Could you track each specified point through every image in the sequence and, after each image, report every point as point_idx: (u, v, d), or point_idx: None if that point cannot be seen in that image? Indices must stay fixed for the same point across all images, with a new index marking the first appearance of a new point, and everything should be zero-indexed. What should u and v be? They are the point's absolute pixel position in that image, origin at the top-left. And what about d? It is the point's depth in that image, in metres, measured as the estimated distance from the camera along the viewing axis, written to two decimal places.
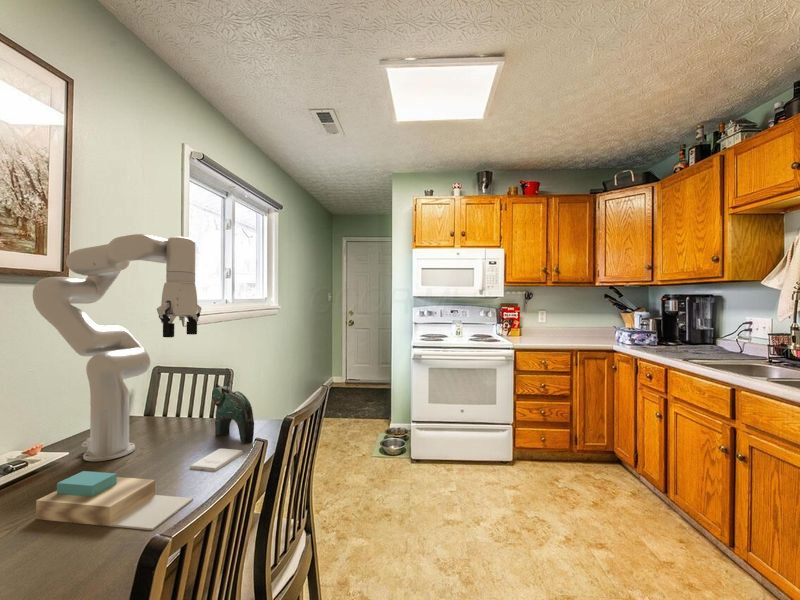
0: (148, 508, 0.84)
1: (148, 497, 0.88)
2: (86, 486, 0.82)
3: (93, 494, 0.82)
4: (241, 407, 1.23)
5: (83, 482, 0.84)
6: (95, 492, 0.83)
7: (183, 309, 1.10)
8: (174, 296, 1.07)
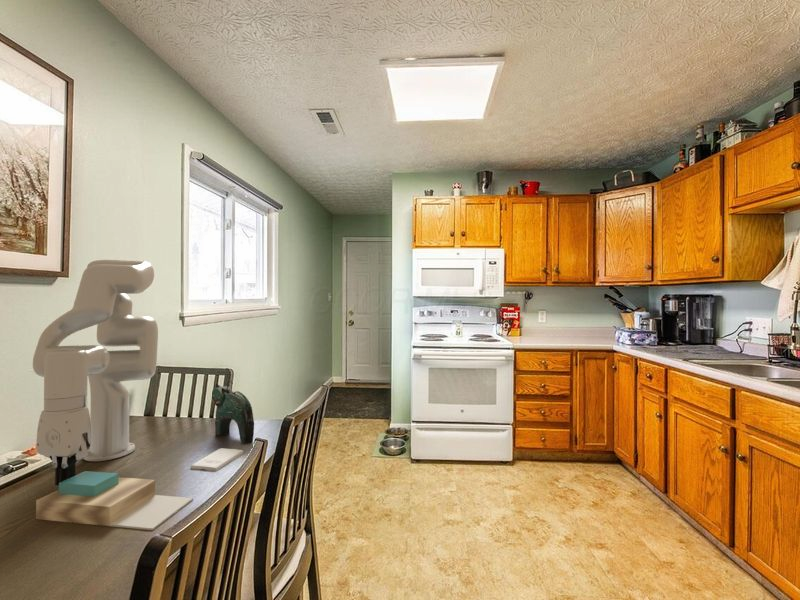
0: (148, 508, 0.84)
1: (148, 497, 0.88)
2: (88, 486, 0.82)
3: (95, 494, 0.82)
4: (241, 407, 1.23)
5: (85, 482, 0.84)
6: (97, 492, 0.83)
7: None
8: (90, 425, 0.87)
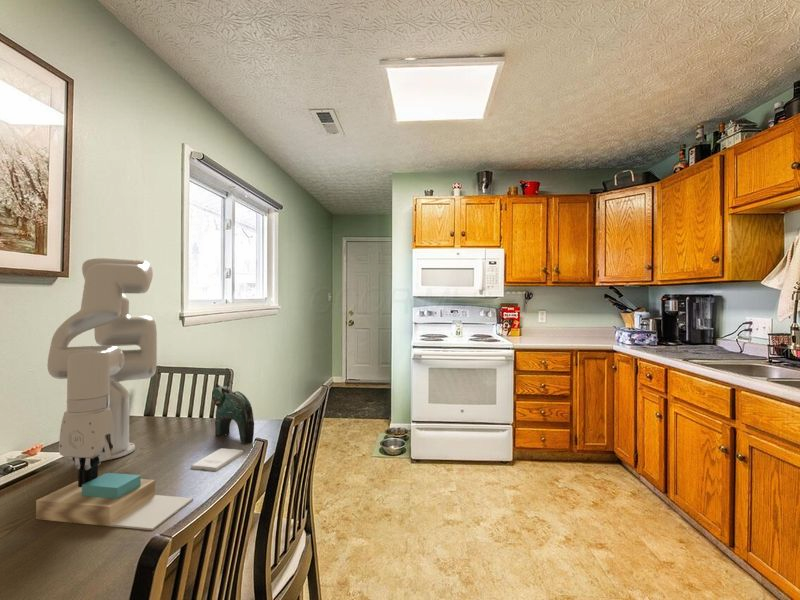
0: (148, 508, 0.84)
1: (148, 497, 0.88)
2: (111, 488, 0.81)
3: (118, 496, 0.81)
4: (241, 407, 1.23)
5: (107, 484, 0.83)
6: (120, 494, 0.82)
7: None
8: (113, 426, 0.86)
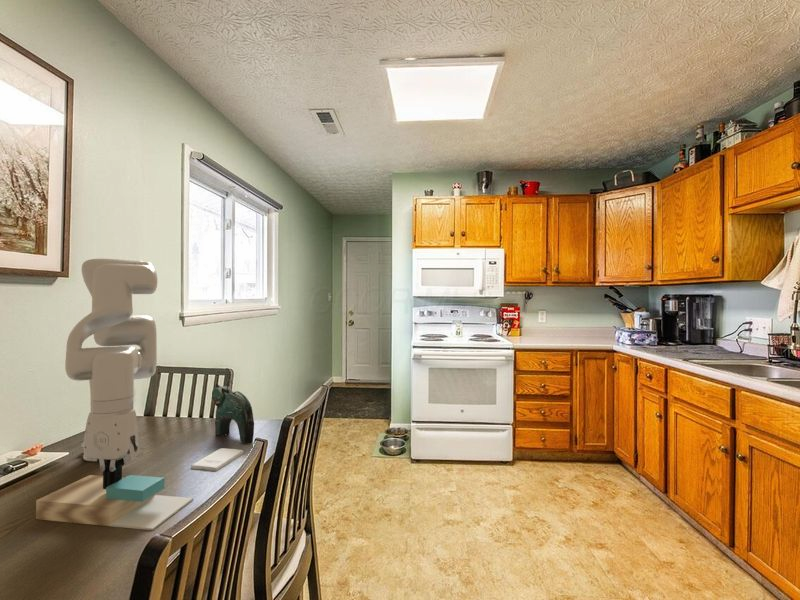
0: (148, 508, 0.84)
1: None
2: (136, 491, 0.80)
3: (143, 499, 0.80)
4: (241, 407, 1.23)
5: (132, 486, 0.82)
6: (145, 497, 0.81)
7: None
8: (137, 427, 0.86)
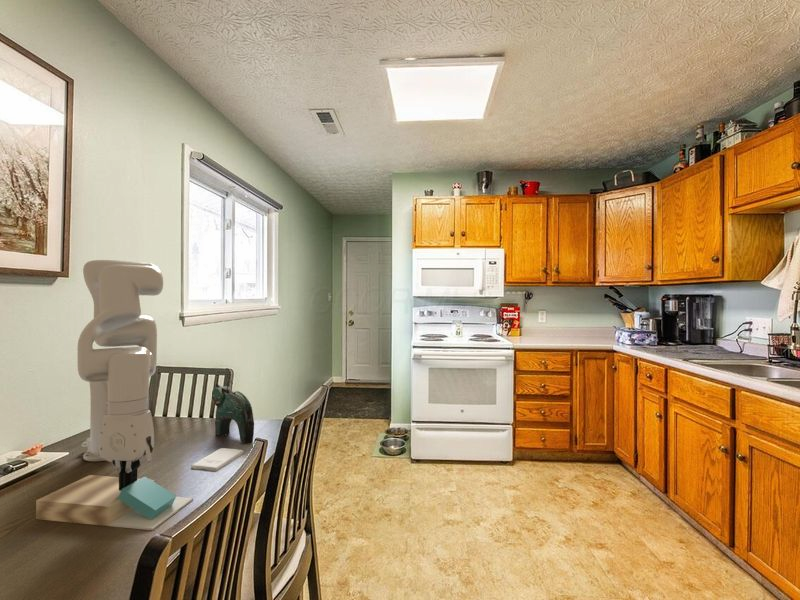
0: None
1: None
2: (149, 508, 0.79)
3: (152, 517, 0.80)
4: (241, 407, 1.23)
5: (146, 498, 0.81)
6: (155, 515, 0.80)
7: None
8: (153, 428, 0.85)
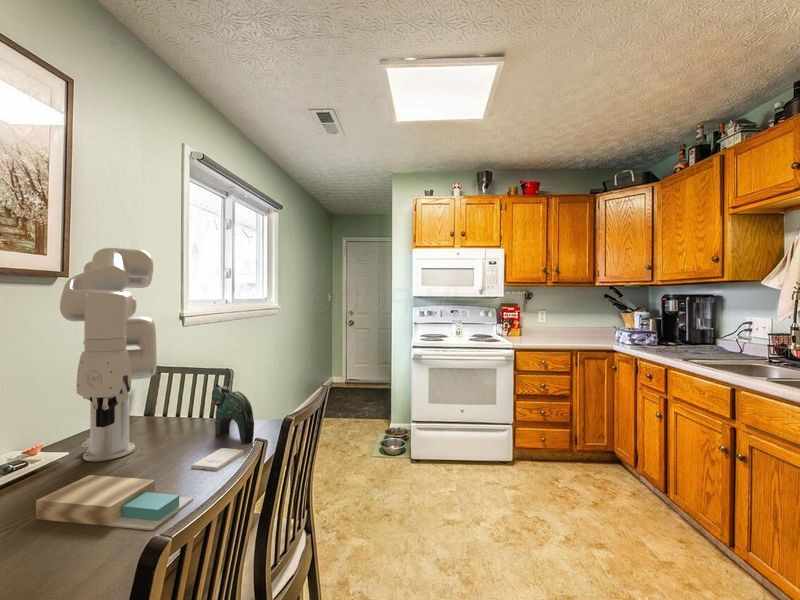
0: None
1: None
2: (152, 510, 0.79)
3: (159, 518, 0.79)
4: (241, 407, 1.23)
5: (147, 505, 0.81)
6: (161, 516, 0.80)
7: None
8: (130, 368, 0.86)
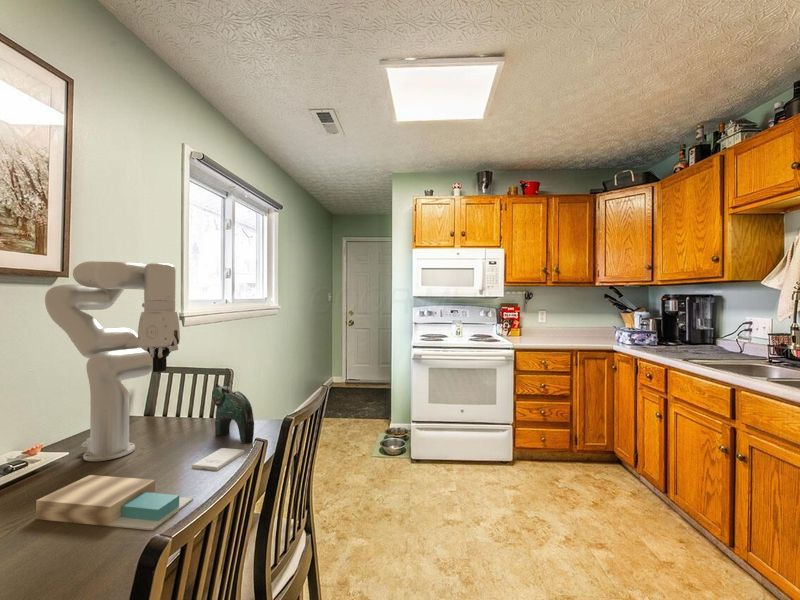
0: None
1: None
2: (152, 510, 0.79)
3: (159, 518, 0.79)
4: (241, 408, 1.23)
5: (147, 505, 0.81)
6: (161, 516, 0.80)
7: None
8: None
